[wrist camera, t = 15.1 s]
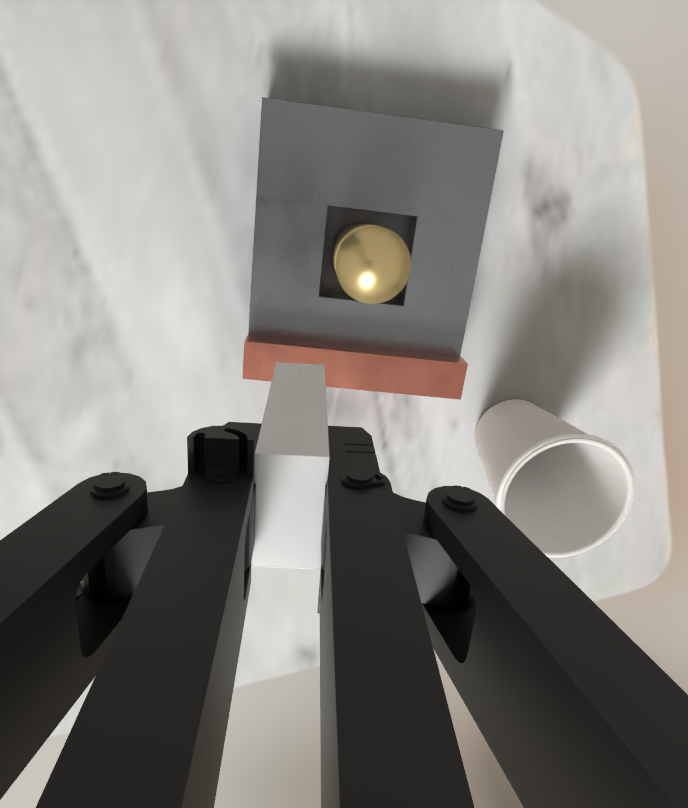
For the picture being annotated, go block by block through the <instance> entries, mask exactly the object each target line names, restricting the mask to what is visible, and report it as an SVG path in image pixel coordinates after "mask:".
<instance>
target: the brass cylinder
mask: <svg viewBox="0 0 688 808" xmlns="http://www.w3.org/2000/svg"><path fill="white" fill-rule="evenodd" d="M332 261H333V264H334V268H335V271H336V274H337V277H338V280H339V283H340V285H341V286H342V288H343V289H344V291H345V292H346V293H347V294H348V295H349V296H351V297H352V298H354V299H355V300H357V301H360V302H363V303H368V304H378V303H382V302H385V301H388V300H390V299H392V298H393V297H395V296H396V295H397V294H398V293H399V292H400V291H401V290H402V289H403V288H404V286H405V285H406V283H407V281H408V278H409V275H410V271H411V257H410V253H409V250H408V248H407V246H406V244H405V242H404V241H403V240H402V238H401V237H400V236H399V235H397V234H396V233H395V232H393V231H391V230H390V229H387V228H384V227H381V226H377V225H374V224H370V223H365V222H359V223H354V224H351V225H349V226H347V227H346V228H344V229H343V230H342V231H341V232H340V233H339V234H338V236H337V237H336V239H335V241H334V244H333V247H332Z"/></svg>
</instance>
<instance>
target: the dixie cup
mask: <svg viewBox="0 0 688 808" xmlns="http://www.w3.org/2000/svg"><path fill="white" fill-rule="evenodd" d="M475 444H476V448H477V450H478V455H479V457H480V460H481V463H482V465H483V468H484V471H485V474H486V477H487V479H488V482H489V485H490V488H491V491H492V494H493V497H494V500H495V503H496V507H497V508H498V509H499V510H500V511H501V512H502V513H503V514H504V515H505V516H506V517H507V518H508V519H509V520H510V521H511V522H512V523H513V524H514V525H515V526H516V527H518V528H519V529H520V530H521V531H522V532H523V533H524V534H525V535H526V536H527V537H528V538H529V539H530V540H531V541H532V542H533V543H534V544H535V545H536V546H537V547H538V548H539V549H540V550H541V551H542V552H543V553H544V554H545V555H546V556H547V557H565V556H571V555H575V554H579V553H582V552H584V551H587V550H589V549H591V548H593V547H595V546H597V545H598V544H600V543H601V542H603V541H604V540H606V539H607V538H608V537H609V536H610V535H612V534H613V533H614V532H615V531H616V530H617V528H618V527H619V526H620V525H621V523H622V522H623V521H624V519H625V517H626V516H627V514H628V512H629V510H630V507H631V505H632V501H633V497H634V491H635V481H634V475H633V471H632V468H631V466H630V463H629V461H628V460H627V458H626V457H625V455H624V454H623V453H622V452H621V451H620V450H619V449H618V448H617V447H616V446H614V445H613V444H612V443H610V442H608V441H606V440H604V439H602V438H600V437H597V436H593V435H588V434H586V433H585V432H583V431H581V430H579V429H578V428H576V427H574V426H572V425H570V424H569V423H567V422H565V421H563V420H561V419H560V418H558V417H556V416H554V415H552V414H551V413H549V412H547V411H545V410H543V409H542V408H540V407H538V406H536V405H535V404H533V403H531V402H529V401H525V400H520V399H511V400H506V401H503V402H500V403H498V404H496V405H494V406H492V407H491V408H489V409H488V410H487V411H486V412H485V413H484V414H483V415H482V417H481V418H480V420H479V422H478V424H477V426H476V430H475Z"/></svg>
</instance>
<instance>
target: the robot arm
mask: <svg viewBox="0 0 688 808" xmlns="http://www.w3.org/2000/svg"><path fill="white" fill-rule="evenodd" d="M187 447H188V475H187V477H186V479H185V482H184V484H183V486H181V487H178V488H175V489H170V490H164V491H157V492H148V493H147V487H146V481H144V480H143V479H142V478H141V477H139V476H136V475H133V474H129V473H120V472H111V473H102V474H100V475H98V476H94V477H90V478H88V479H86V480H84V481H82V482H80V483H79V484H77V485H76V486H74V487H73V488H72V489H70V490H69V491H68V492H66V493H65V494H63V495H62V496H61V497H59V498H58V499H57V500H55V501H54V502H52V503H51V504H50V505H48V506H47V507H46V508H44V509H43V510H41V511H40V512H39V513H37V514H36V515H35V516H33V517H32V518H30V519H29V520H28V521H26V522H25V523H24V524H22V525H21V526H19V527H18V528H17V529H15V530H14V531H13V532H11V533H10V534H8V535H7V536H6V537H4V538H3V539H2V540H0V799H1V798H2V797H3V795H4V794H5V793H6V792H7V790H8V789H9V788H10V786H11V785H12V784H13V783H14V781H15V780H16V779H17V777H18V776H19V775H20V773H21V772H22V771H23V770H24V768H25V767H26V766H27V764H28V763H29V762H30V760H31V759H32V758H33V756H34V755H35V754H36V753H37V751H38V750H39V749H40V747H41V746H42V745H43V744H44V742H45V741H46V740H47V738H48V737H49V736H50V735H51V733H52V732H53V731H54V729H55V728H56V727H57V725H58V724H59V723H60V722H61V720H62V719H63V718H64V716H65V715H66V714H67V712H68V711H69V710H70V709H71V707H72V706H73V705H74V703H75V702H76V701H77V699H78V698H79V697H80V696H81V694H82V693H83V692H84V690H85V689H86V688H87V686H88V685H89V684H90V683H91V681H92V680H93V679H94V677H95V676H96V677H95V679H94V681H93V683H92V686H91V688H90V690H89V692H88V694H87V696H86V699H85V701H84V703H83V705H82V707H81V710H80V712H79V714H78V716H77V718H76V721H75V723H74V725H73V727H72V729H71V732H70V734H69V736H68V738H67V740H66V743H65V745H64V747H63V749H62V751H61V754H60V756H59V758H58V760H57V762H56V765H55V767H54V769H53V771H52V773H51V775H50V778H49V780H48V782H47V784H46V786H45V789H44V791H43V793H42V795H41V797H40V800H39V802H38V804H37V806H36V808H214V803H215V796H216V791H217V784H218V779H219V772H220V766H221V760H222V754H223V748H224V742H225V736H226V730H227V723H228V718H229V712H230V705H231V699H232V693H233V687H234V681H235V675H236V669H237V663H238V657H239V651H240V644H241V638H242V632H243V626H244V620H245V614H246V608H247V602H248V596H249V590H250V583H251V560H252V567H268V568H297V569H321V572H320V585H319V598H318V612H317V613H320V702H321V703H320V706H321V707H320V709H321V808H474V805H473V801H472V797H471V793H470V789H469V786H468V781H467V777H466V774H465V770H464V766H463V762H462V758H461V754H460V751H459V746H458V743H457V739H456V735H455V731H454V727H453V723H452V719H451V715H450V712H449V708H448V704H447V700H446V696H445V692H444V688H443V685H442V681H441V677H440V673H439V669H438V665H437V662H436V657H435V654H434V650H435V652H436V653H437V655H438V657H439V659H440V661H441V662H442V664H443V666H444V668H445V670H446V671H447V673H448V675H449V677H450V678H451V680H452V682H453V684H454V685H455V687H456V689H457V691H458V692H459V694H460V696H461V698H462V699H463V701H464V703H465V705H466V706H467V708H468V710H469V712H470V713H471V715H472V717H473V719H474V720H475V722H476V724H477V726H478V728H479V729H480V731H481V733H482V734H483V736H484V738H485V740H486V742H487V743H488V745H489V747H490V749H491V750H492V752H493V754H494V756H495V757H496V759H497V761H498V763H499V764H500V766H501V768H502V770H503V771H504V773H505V775H506V777H507V779H508V780H509V782H510V784H511V785H512V787H513V789H514V791H515V793H516V794H517V796H518V798H519V800H520V801H521V803H522V805H523V807H524V808H688V695H687V694H686V693H685V692H684V691H683V690H682V689H681V688H680V687H679V686H678V685H677V684H676V683H675V682H674V681H673V680H672V679H671V678H670V677H669V676H668V675H667V674H666V673H665V672H664V671H663V670H662V669H661V668H660V667H659V666H658V665H657V664H656V663H655V662H654V661H653V660H652V659H651V658H650V657H649V656H648V655H647V654H646V653H645V652H644V651H643V650H642V649H641V648H640V647H639V646H638V645H636V644H635V643H634V642H633V641H632V640H631V639H630V638H629V637H628V636H627V635H626V634H625V633H624V632H623V631H622V630H621V629H620V628H619V627H618V626H617V625H616V624H615V623H614V622H613V621H612V620H611V619H610V618H609V617H608V616H607V615H606V614H605V613H604V612H603V611H602V610H601V609H600V608H599V607H598V606H597V605H595V603H594V602H593V601H592V600H591V599H590V598H589V597H588V596H587V595H586V594H585V593H584V592H583V591H582V590H581V589H580V588H579V587H578V586H576V585H575V584H574V583H573V582H572V581H571V580H570V579H569V578H568V577H567V576H566V575H565V574H564V573H563V572H562V571H561V570H560V569H559V568H558V567H557V566H556V565H555V564H554V563H553V562H552V561H551V560H550V559H549V558H548V557H547V556H546V555H545V554H544V553H543V552H542V551H541V550H540V549H539V548H538V547H537V546H536V545H535V544H534V543H533V542H532V541H531V540H530V539H529V538H528V537H527V536H526V535H525V534H524V533H523V532H522V531H521V530H520V529H519V528H518V527H516V526H515V525H514V524H513V523H512V522H511V521H510V520H509V519H508V518H507V517H506V516H505V515H504V514H503V513H502V512H501V511H500V510H499V509H498V508H497V507H496V506H495V505H494V504H493V503H492V502H491V501H490V500H489V499H488V498H486V497H485V496H483V495H482V494H481V493H478V492H476V491H473V490H471V489H470V488H467V487H462V486H443V487H438V488H435V489H433V490H431V491H430V492H429V493H428V496H427V500H426V503H425V502H420V501H416V500H412V499H408V498H405V497H402V496H399V495H397V494H395V493H393V491H392V487H391V483H390V481H389V480H388V478H387V477H386V476H385V475H383V474H382V473H380V470H379V466H378V462H377V458H376V454H375V449H374V446H373V441H372V436H371V435H370V434H369V433H368V432H366V431H365V430H364V429H363V428H360V427H341V426H328V421H327V403H326V385H325V366H324V365H317V364H301V363H285V362H276V366H275V370H274V375H273V379H272V383H271V387H270V391H269V396H268V400H267V404H266V408H265V412H264V417H263V421H262V424H258V423H239V422H228V423H227V424H225V425H224V426H210V427H205V428H201V429H198V430H196V431H193V432H192V433H191V434H190V435H189V436H188V437H187ZM80 582H81V583H80ZM433 648H434V650H433Z"/></svg>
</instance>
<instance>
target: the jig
mask: <svg viewBox="0 0 688 808" xmlns="http://www.w3.org/2000/svg"><path fill="white" fill-rule="evenodd" d="M502 136H503V130H496V129H488V128H481V127H474V126H467V125H459V124H452V123H445V122H438V121H430V120H423V119H416V118H409V117H401V116H394V115H387V114H380V113H372V112H365V111H358V110H351V109H343V108H336V107H329V106H322V105H314V104H307V103H300V102H293V101H285V100H278V99H271V98H264V97H262V110H261V127H260V144H259V162H258V179H257V196H256V214H255V231H254V248H253V265H252V283H251V300H250V317H249V334H248V336H247V338H246V340H245V344H244V362H243V379H253V380H263V381H272V379H273V375H274V370H275V366H276V362H285V363H301V364H317V365H324V366H325V385H326V387H336V388H346V389H357V390H367V391H378V392H388V393H399V394H409V395H419V396H430V397H440V398H451V399H461V395H462V390H463V385H464V380H465V375H466V370H467V365H468V364H467V363H466V361H465V360H464V359H463V358H462V357H461V356H460V353H461V348H462V343H463V338H464V333H465V327H466V322H467V317H468V312H469V307H470V302H471V296H472V291H473V286H474V281H475V276H476V271H477V265H478V260H479V255H480V250H481V245H482V239H483V234H484V229H485V224H486V219H487V214H488V208H489V203H490V198H491V193H492V188H493V183H494V177H495V172H496V167H497V162H498V157H499V151H500V146H501V141H502ZM359 222H365V223H370V224H374V225H377V226H381V227H384V228H387V229H390V230H391V231H393V232H395V233H396V234H397V235H399V236H400V237H401V238H402V240H403V241H404V242H405V244H406V246H407V248H408V250H409V253H410V257H411V271H410V275H409V278H408V281H407V283H406V285H405V286H404V288H403V289H402V290H401V291H400V292H399V293H398V294H397V295H396V296H395V297H393V298H392V299H390V300H388V301H385V302H382V303H378V304H368V303H363V302H360V301H357V300H355V299H354V298H352V297H351V296H349V295H348V294H347V293H346V292H345V291H344V289H343V288H342V286H341V285H340V283H339V280H338V277H337V274H336V271H335V268H334V264H333V261H332V247H333V244H334V241H335V239H336V237H337V236H338V234H339V233H340V232H341V231H342V230H343V229H344V228H346V227H347V226H349V225H351V224H354V223H359Z"/></svg>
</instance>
